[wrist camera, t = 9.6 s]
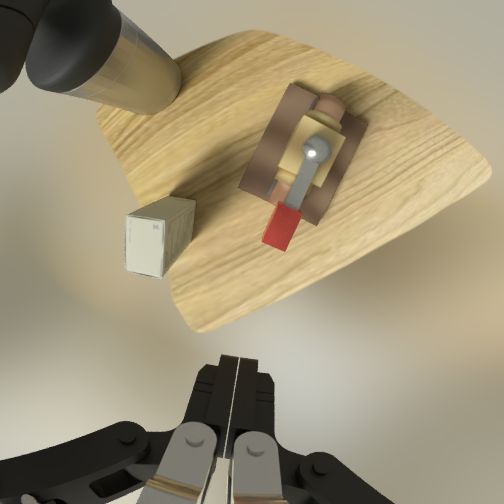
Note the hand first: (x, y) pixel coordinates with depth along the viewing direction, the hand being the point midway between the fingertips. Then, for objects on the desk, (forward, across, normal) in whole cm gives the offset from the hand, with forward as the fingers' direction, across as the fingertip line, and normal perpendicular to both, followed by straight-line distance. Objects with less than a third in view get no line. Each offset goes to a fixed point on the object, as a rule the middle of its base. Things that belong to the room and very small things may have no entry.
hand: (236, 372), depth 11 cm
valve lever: (+19, -3, -6) cm, 20 cm away
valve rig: (+27, -4, -10) cm, 29 cm away
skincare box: (+27, +11, +1) cm, 29 cm away
